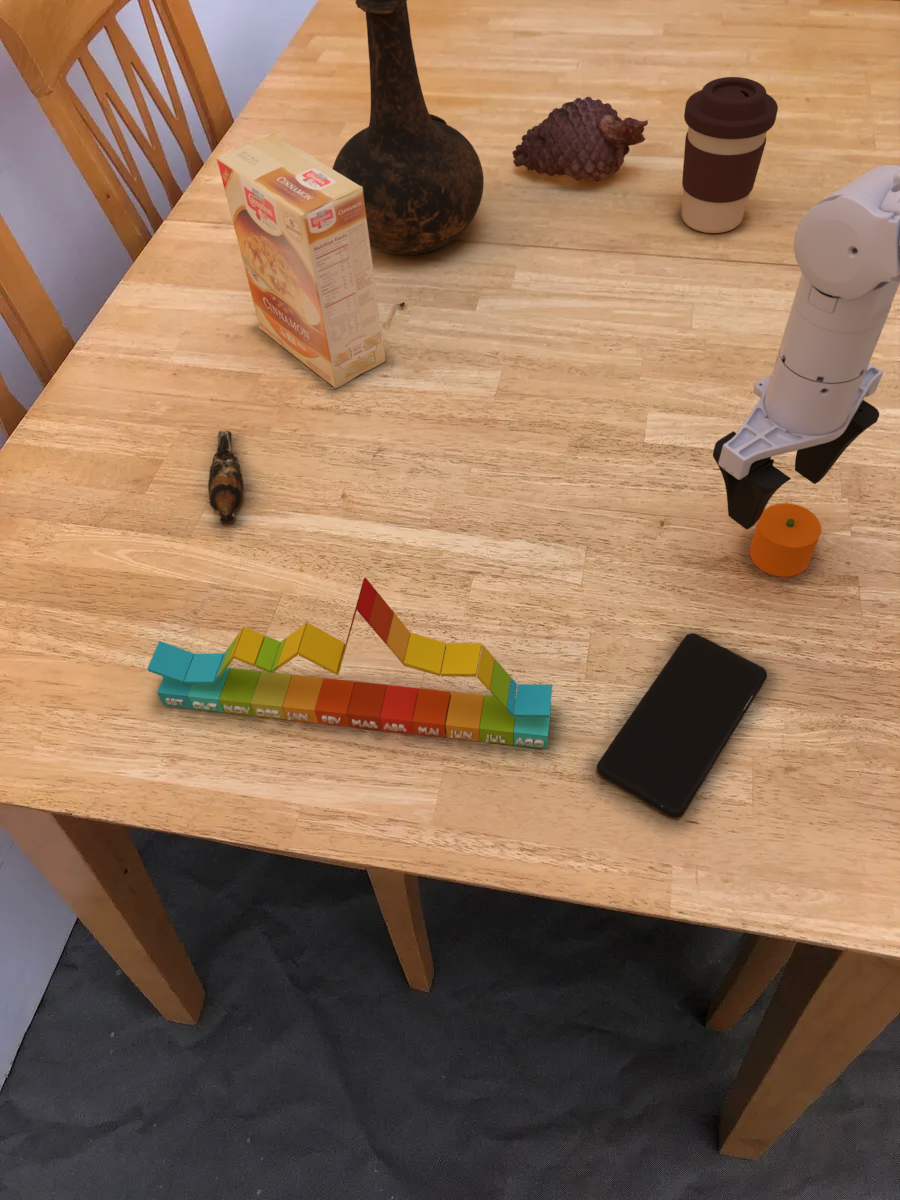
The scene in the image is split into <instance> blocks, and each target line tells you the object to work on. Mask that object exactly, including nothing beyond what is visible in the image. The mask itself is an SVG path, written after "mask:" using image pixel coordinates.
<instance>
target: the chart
mask: <svg viewBox="0 0 900 1200" xmlns="http://www.w3.org/2000/svg"><path fill="white" fill-rule="evenodd" d="M357 612H358V614H359V615H360V616H361V617H362V618H363V619H364V621H365V622H366V623H367V624H368V625H369V627H370V628H371V629H372V630H373V631H374V632H375V634H376V635H377V636H378V637H379V638H380V639H381V641H382V642H383V643H384V644H385V646H386V647H388V649H389V650H390V651H391V652H392V654H393V655H394V656H395V657H396V658H397V659H398V661H399V662H400V663H401V664H402V665H403V666H404V667H407V668H410V669H414V670H417V671H420V672H424V673H428V674H431V675H434V676H438V677H443V678H444V677H446V678H447V677H448V678H449V677H450V678H451V677H452V678H454V677H455V678H456V677H458V678H460V677H462V678H463V677H464V678H466V677H467V678H471V677H472V678H477V679H478V680H479V681H480V683H481V684H482V685H483V686H484V687H485V688H486V689H487V690H488V691H489V692H490V694H491V695H488V694H477V693H469V692H460V691H449V690H440V689H433V688H432V689H430V688H424V687H423V688H422V687H414V686H413V687H411V686H403V685H392V684H384V683H374V682H366V681H356V680H347V679H338V678H330V677H329V678H327V677H319V676H318V677H317V676H309V675H301V674H291V673H290V674H289V673H282V672H276V671H277V670H278V669H281V668H282V667H283V666H285V665H286V664H288V663H289V662H290V661H292V660H293V659H295V658H296V657H297V656H298V657H299V656H300V657H301V658H303V659H305V660H307V661H309V662H311V663H313V664H315V665H317V666H319V667H321V668H322V669H324V670H326V671H328V672H330V673H332V674H334V675H336V676H339V674H340V672H341V667H342V664H343V662H344V661H343V660H344V657H345V653H346V649H347V646H348V642H349V639H350V635H351V632H352V629H353V624H354V621H355V617H356V615H357ZM234 660H237V661H239V662H242V663H244V664H247V665H249V666H252V667H256V669H259V670H253V669H245V668H244V669H243V668H233V667H229V666H230V665H231V663H232V662H233V661H234ZM261 670H262V671H261ZM147 671H148V672H149V673H152V674H154V675H155V674H156V675H158V676H161V677H162V678H161V682H160V683H159V686H158V688H157V691H156V694H157V696H158V697H159V699H160V701H161V703H162V705H163V706H166V707H174V708H183V709H191V710H198V711H199V710H201V711H209V712H217V713H228V714H235V715H242V716H243V715H245V716H252V717H260V718H261V717H262V718H269V719H279V720H288V721H297V722H305V723H313V724H314V723H315V724H324V725H330V726H331V725H332V726H341V727H348V728H349V727H350V728H358V729H366V730H367V729H368V730H375V731H376V730H377V731H383V732H384V731H385V732H392V733H402V734H409V735H420V736H429V737H438V738H446V739H455V740H463V741H473V742H484V743H492V744H498V745H499V744H500V745H501V744H502V745H510V746H519V747H527V748H537V749H546V750H547V749H548V743H549V732H550V723H551V715H552V695H553V694H552V693H553V684H552V683H551V684H546V683H545V684H541V683H536V684H535V683H517V682H516V681H515V680H514V678H513V677H512V676H511V675H510V674H509V673H508V671H507V670H506V669H505V668H504V667H503V666H502V664H500V663H499V661H498V660H497V659H496V658H495V657H494V656H493V654H492V653H491V652H490V651H489V650H488V648H487V647H485V645H484V644H482V642H444V641H441V640H438V639H434V638H431V637H427V636H424V635H421V634H418V633H414V632H411V631H410V629H408V627H407V626H406V625H405V623H403V621H402V620H401V619H400V618H399V617H398V615H397V614H396V613H395V611H393V609H392V608H391V607H390V606H389V604H388V603H387V602H386V601H385V599H384V598H383V597H382V596H381V594H380V593H379V592H378V591H377V589H376V588H375V587H374V586H373V584H371V582H370V581H369V579H368V578H367V577H366V576H364V577H363V580H362V584H361V587H360V591H359V594H358V598H357V601H356V606H355V609H354V612H353V615H352V619H351V623H350V627H349V630H348V634H347V637H346V641H345V642H344V641H342V640H340V639H338V638H337V637H335V636H333V635H331V634H329V633H328V632H326V631H324V630H322V629H320V628H318V627H317V626H314V625H313V624H311V623H310V622H305V623H303V624H302V625H301V626H300V627H298V628H297V629H295V630H294V631H292V632H291V633H290V634H288V635H287V636H286V637H285V638H283V639H282V640H281V641H280V640H277V639H275V638H272V637H270V636H268V635H265V634H263V633H260V632H259V631H255V630H253V629H251V628H248V627H246V626H243V627H242V628H241V629H240V630H239V632H238V633H237V635H236V636H235V637H234V639H233V640H232V642H231V643H230V644H229V646H228V647H227V649H225V651H224V653H194V652H191V651H188V650H186V649H183V648H181V647H177V646H175V645H172V644H170V643H167V642H164V641H161V640H158V643H157V644H156V647H155V649H154V652H153V654H152V657H151V658H150V661H149V663H148V665H147Z"/></svg>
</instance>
